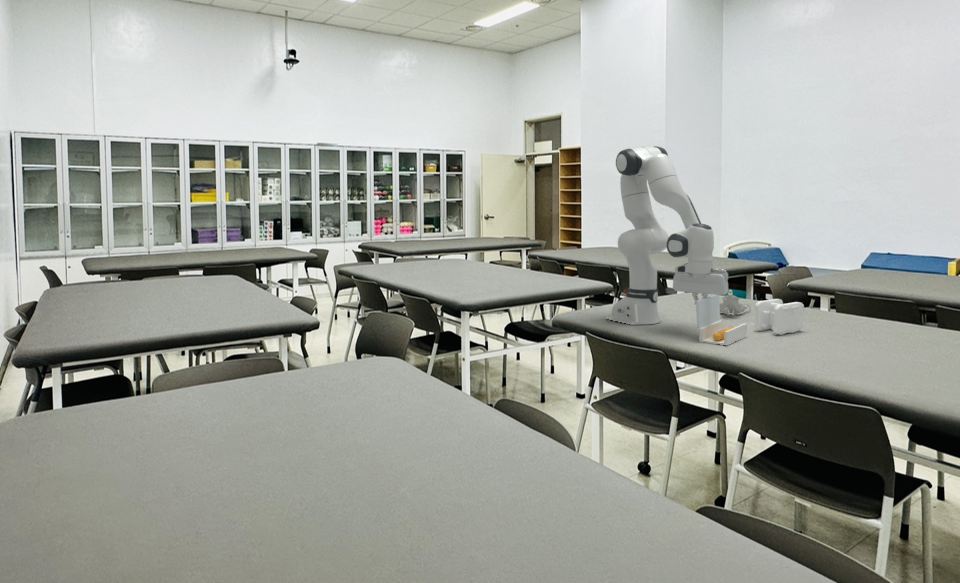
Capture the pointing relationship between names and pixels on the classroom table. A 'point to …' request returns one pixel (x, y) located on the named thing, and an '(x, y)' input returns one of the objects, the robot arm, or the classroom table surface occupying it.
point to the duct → (729, 335)
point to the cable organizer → (779, 316)
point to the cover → (708, 311)
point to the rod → (720, 334)
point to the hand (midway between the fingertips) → (699, 304)
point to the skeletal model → (732, 304)
